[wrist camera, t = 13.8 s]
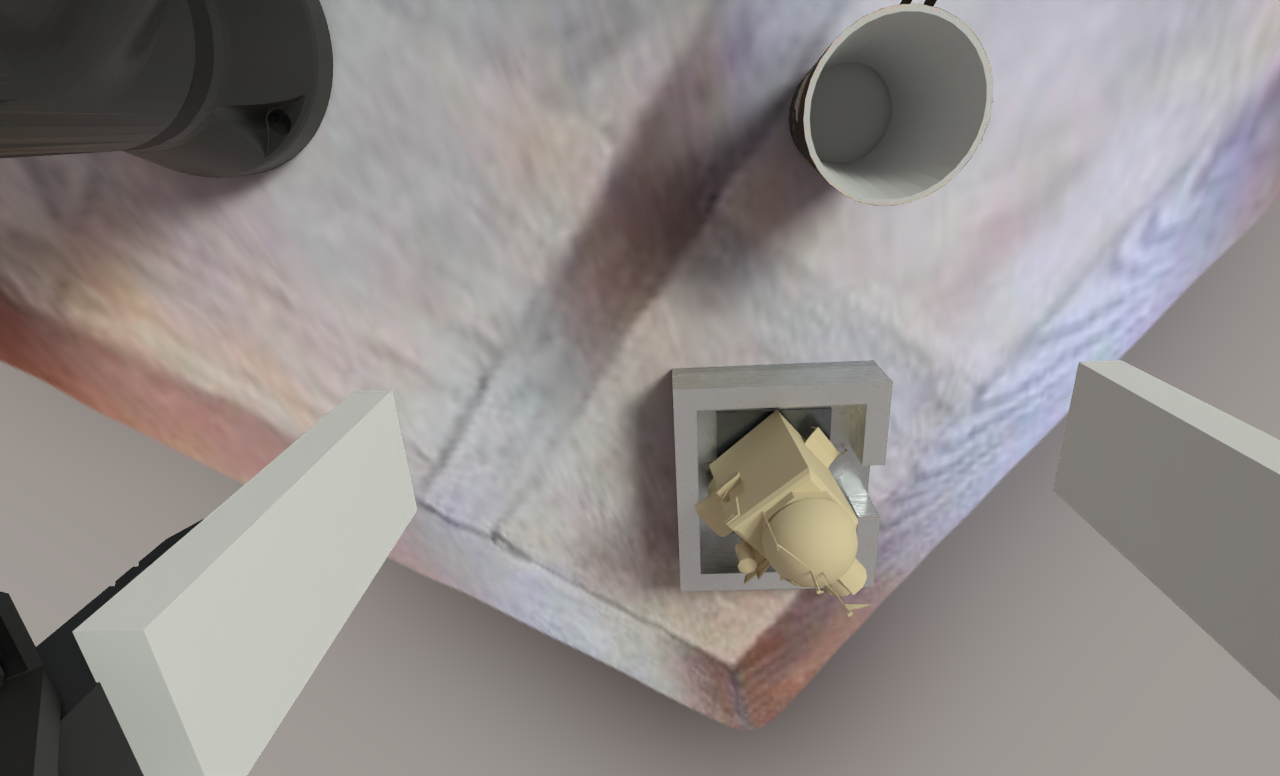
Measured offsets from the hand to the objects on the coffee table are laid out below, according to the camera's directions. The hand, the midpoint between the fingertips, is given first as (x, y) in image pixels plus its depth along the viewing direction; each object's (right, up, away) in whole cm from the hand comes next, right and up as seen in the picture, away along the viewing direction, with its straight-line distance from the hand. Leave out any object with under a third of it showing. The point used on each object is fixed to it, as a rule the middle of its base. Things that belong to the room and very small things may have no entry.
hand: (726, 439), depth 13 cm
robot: (+8, -5, +34) cm, 36 cm away
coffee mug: (+12, +19, +27) cm, 34 cm away
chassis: (+8, -5, +36) cm, 37 cm away
